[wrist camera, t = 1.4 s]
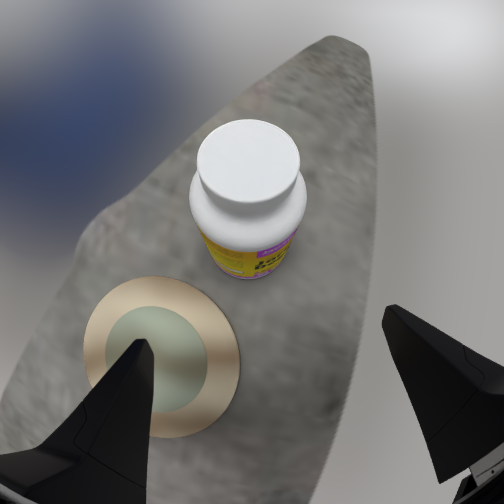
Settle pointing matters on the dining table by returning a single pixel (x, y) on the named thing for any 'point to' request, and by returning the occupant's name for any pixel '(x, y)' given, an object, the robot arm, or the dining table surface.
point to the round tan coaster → (169, 350)
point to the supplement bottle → (248, 196)
